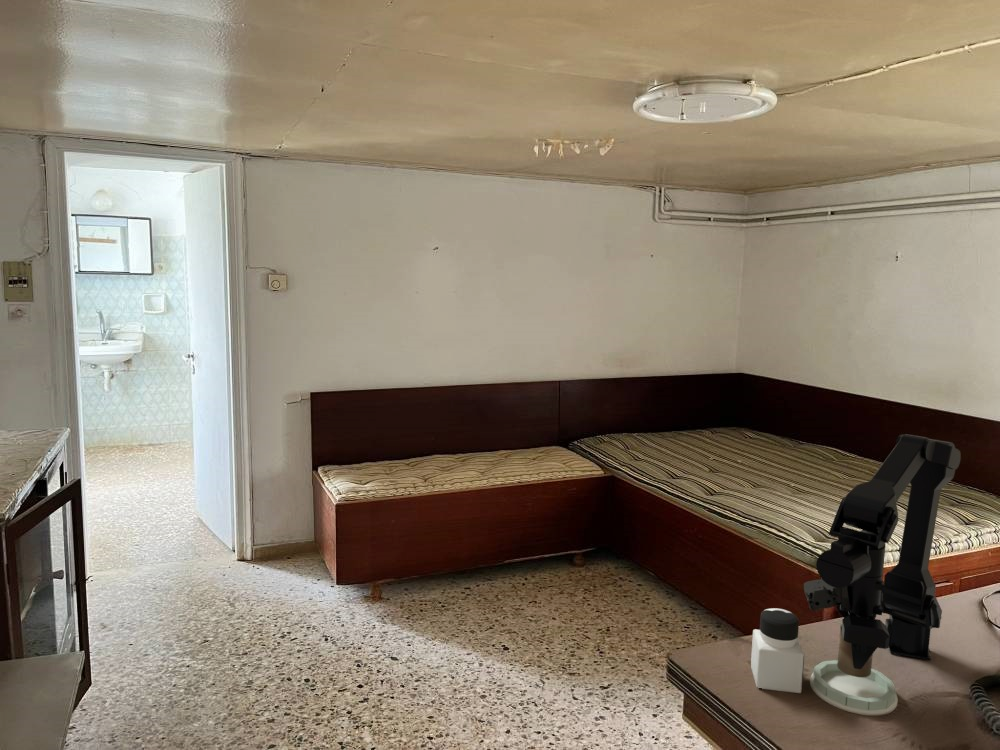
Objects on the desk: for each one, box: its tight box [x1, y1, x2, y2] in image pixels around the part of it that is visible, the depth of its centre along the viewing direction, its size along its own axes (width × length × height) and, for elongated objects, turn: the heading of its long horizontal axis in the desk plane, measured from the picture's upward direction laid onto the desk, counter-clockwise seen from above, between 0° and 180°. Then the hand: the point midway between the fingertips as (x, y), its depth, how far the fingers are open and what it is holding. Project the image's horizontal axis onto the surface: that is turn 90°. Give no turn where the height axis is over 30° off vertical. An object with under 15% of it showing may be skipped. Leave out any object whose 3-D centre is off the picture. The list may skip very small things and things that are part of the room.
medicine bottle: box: [750, 607, 805, 694], centre depth 120 cm, size 7×7×12 cm
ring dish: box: [809, 659, 899, 716], centre depth 117 cm, size 13×13×2 cm
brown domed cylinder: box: [837, 623, 874, 677], centre depth 117 cm, size 5×5×7 cm
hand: (855, 660), depth 117 cm, fingers closed on brown domed cylinder, 5 cm apart
